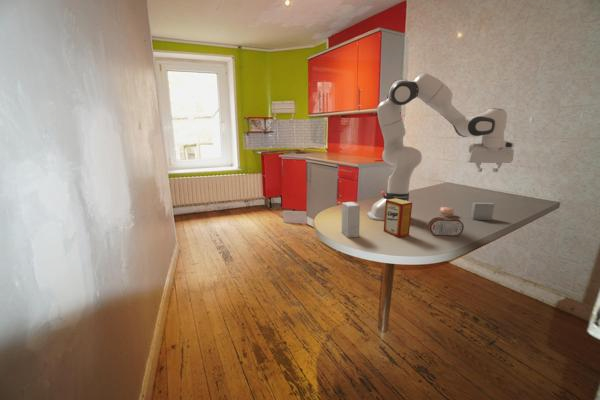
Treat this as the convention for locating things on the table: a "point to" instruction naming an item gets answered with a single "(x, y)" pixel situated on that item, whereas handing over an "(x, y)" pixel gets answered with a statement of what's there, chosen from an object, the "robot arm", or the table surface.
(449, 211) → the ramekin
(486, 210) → the tile
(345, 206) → the skincare box
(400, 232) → the baking soda box
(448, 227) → the tin
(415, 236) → the table surface
